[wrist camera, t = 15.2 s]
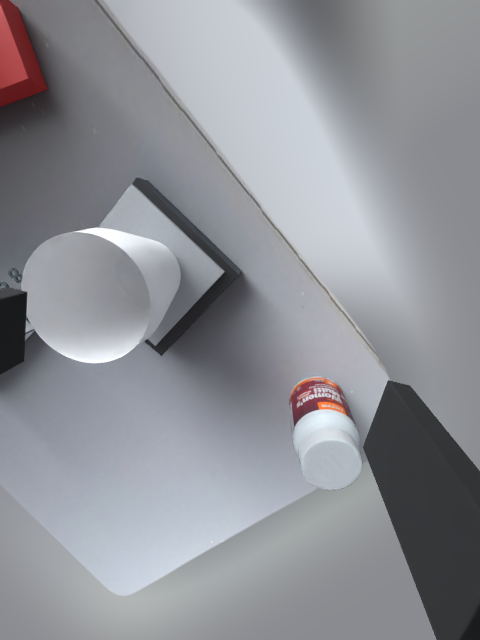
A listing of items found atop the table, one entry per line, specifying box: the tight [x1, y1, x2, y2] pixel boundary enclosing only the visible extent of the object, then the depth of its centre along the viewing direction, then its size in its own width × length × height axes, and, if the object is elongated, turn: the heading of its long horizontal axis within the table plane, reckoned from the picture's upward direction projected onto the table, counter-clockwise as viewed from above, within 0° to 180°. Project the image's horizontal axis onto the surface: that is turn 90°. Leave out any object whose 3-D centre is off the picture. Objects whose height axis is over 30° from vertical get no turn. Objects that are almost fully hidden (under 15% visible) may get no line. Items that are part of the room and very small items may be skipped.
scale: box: [98, 178, 241, 356], centre depth 36 cm, size 13×12×4 cm
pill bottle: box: [289, 376, 362, 490], centre depth 35 cm, size 6×6×11 cm
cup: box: [21, 228, 181, 363], centre depth 29 cm, size 9×9×12 cm
